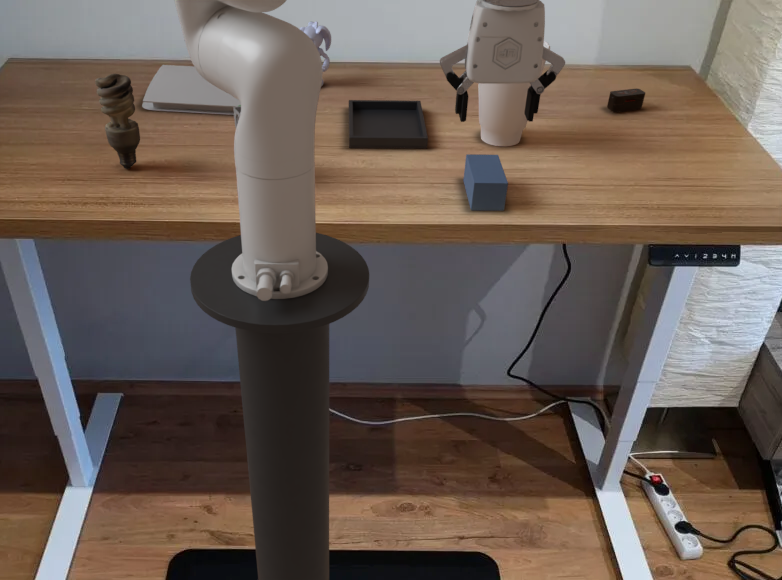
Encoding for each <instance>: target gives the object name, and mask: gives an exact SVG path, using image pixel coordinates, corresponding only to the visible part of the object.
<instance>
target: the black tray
mask: <svg viewBox="0 0 782 580" xmlns="http://www.w3.org/2000/svg"><path fill="white" fill-rule="evenodd" d="M423 112H424V111H423V107H422V102H421V100H391V99H389V100H388V99H387V100H385V99H383V100H382V99H378V100H377V99H348V148H349V149H408V150H409V149H411V150H412V149H415V150H416V149H418V150H419V149H420V150H421V149H422V150H426V149H428V144H429V143H428V142H429V136H428V131H427V127H426V121H425V117H424V113H423Z"/></svg>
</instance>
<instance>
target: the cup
mask: <svg viewBox="0 0 782 580" xmlns="http://www.w3.org/2000/svg"><path fill="white" fill-rule="evenodd" d="M543 46H544V47H546V48H547V49H549V50H551V46H550V44H549V42H547V41H546V40H544V45H543ZM546 63H547V61H546V60H544V59H542V65H541V72H540V76H541V75H543V73H544V72H543V71H544V69H545V66H546ZM540 76H539V77H540ZM477 87H478V88H477V90H478V91H477V92H478V94H477V95H478V123H479V125H480V139H481V140H482V142H483V143H486V144H488V145H491V146H496V147H512V146H515V145H518V144H519V143H520V142H521V138H522V135H523V131H524V129H526V127H527V124H528V121H527V119H526V116H525V114H524V111H525V105H526V98H527V91H528V88H529V87H531V84H530V83H515V84H481V83H477Z"/></svg>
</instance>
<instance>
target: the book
mask: <svg viewBox="0 0 782 580" xmlns="http://www.w3.org/2000/svg"><path fill="white" fill-rule="evenodd" d="M239 105H241V103H240V101H239V100H238V99H237V98H235V97H233V96H232V95H230V94H228V93H226V92H225V91H223V90H221V89H219V88H217V87H216V86H214V85H212V84H211V83H209V82H208V81H206V80H205V79H204V78H203V77H202V76H201V75H200V74H199V73H198V71H197V70H196V68H195V67H194V65H173V64H162V65H161V66H160V67H159V68H158V70H157V71H156V73H155V74H154V76H153V77H152V79H151V81H150V82H149V85H148V87H147V89H146V91H145V93H144V97H143V99H142V105H141V108H143V109H144V110H148V111H159V112H172V113H173V112H174V113H175V112H176V113H193V114H209V115H210V114H212V115H229V116H234V109H233V107H237V106H239Z"/></svg>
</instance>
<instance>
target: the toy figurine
mask: <svg viewBox="0 0 782 580" xmlns="http://www.w3.org/2000/svg"><path fill="white" fill-rule="evenodd" d="M298 28H299V29H300V30H301V31H303V32H304V33H305V34H306V35H307V36H308V37H309V38H310V39H311V40H312V41H313V43H314V44H315V46H316V47H317V49H318V51H319V54H320V57H322V58H323V59H324V61H323V63H322V71H323V73H325V72H327V71H328V70H329V68H330V63H331V60H330V57H329V56H328V54H327V53H325V52H328V51H329V50H330V48H331V44H332V33H331V31H330V30H329V28H328V27H326V26H325V25H323V24H320V25H319V22H318V21H317V20H315V21H308V23H307V26H300V27H298ZM323 40H324V44H325V45H324V47H325V51H324V48H322V47H320V46H321V45H322V44H323ZM323 86H324V79H323V78H322V84H321V87H323Z"/></svg>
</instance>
